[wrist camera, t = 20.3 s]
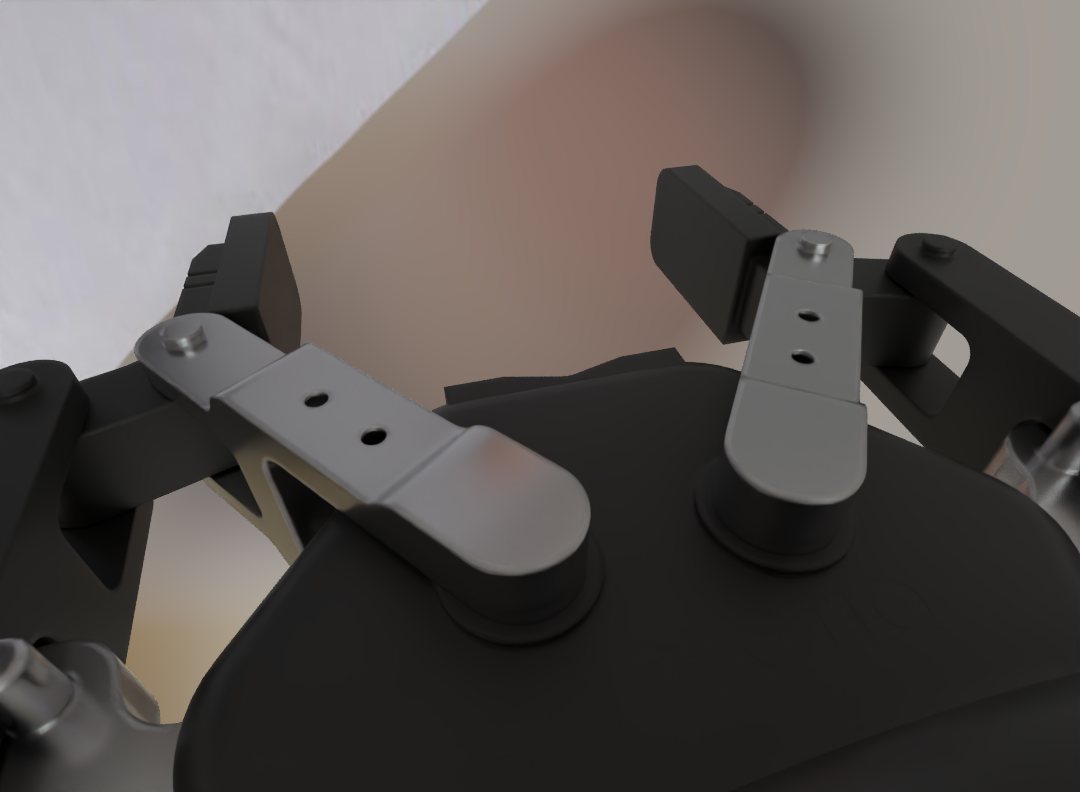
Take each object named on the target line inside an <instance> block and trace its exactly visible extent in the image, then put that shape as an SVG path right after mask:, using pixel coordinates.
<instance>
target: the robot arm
mask: <svg viewBox="0 0 1080 792" xmlns="http://www.w3.org/2000/svg"><path fill="white" fill-rule="evenodd" d="M650 242H651V243H650V244H651V252H652V256H653V259H654V262H655V263H656V265H657V266H658V267H659V268H660V270H661V271H662V272H663V273H664V275H665V276H666V277H667V278H668V279H669V280H670V282H671V283H672V284H673V285H674V286H675V288H676V289H677V290H678V291H679V292H680V294H681V295H682V296H683V297H684V298H685V300H686V301H687V302H688V303H689V304H690V306H691V307H692V308H693V309H694V310H695V312H696V313H697V314H698V315H699V316H700V318H701V319H702V320H703V321H704V322H705V324H706V325H707V326H708V327H709V328H710V329H711V330H712V332H713V333H714V334H715V335H716V336H717V338H718V339H719V340H720V341H721V342H722V344H729V343H735V342H741V341H747V340H749V344H748V348H747V351H746V355H745V359H744V363H743V367H742V371H737V370H734V369H731V368H727V367H722V366H719V365H713V364H706V363H696V362H685V361H684V360H683V358H682V357H681V356H680V354H679V353H678V352H677V350H676V349H675V347H674V348H668V349H662V350H657V351H651V352H645V353H639V354H633V355H628V356H622V357H619V358H616V359H614V360H611V361H608V362H606V363H603V364H600V365H598V366H595V367H593V368H590V369H587V370H584V371H582V372H579V373H577V374H574V375H570V376H562V377H501V378H495V379H489V380H483V381H478V382H472V383H466V384H460V385H454V386H448V387H444V391H445V398H446V405H443V406H441V407H438V408H436V409H434V410H432V411H430V410H428V409H427V408H425V407H423V406H421V405H419V404H418V403H416V402H414V401H413V400H410V399H409V398H407V397H406V396H404V395H402V394H400V393H399V392H397V391H395V390H393V389H392V388H390V387H388V386H387V385H385V384H383V383H381V382H379V381H378V380H376V379H374V378H372V377H371V376H369V375H367V374H366V373H364V372H362V371H360V370H359V369H357V368H355V367H353V366H352V365H350V364H348V363H346V362H345V361H343V360H341V359H339V358H338V357H336V356H334V355H332V354H331V353H329V352H327V351H326V350H324V349H322V348H320V347H319V346H317V345H314V344H311V343H306V344H304V345H302V346H300V338H301V314H302V313H301V304H300V298H299V293H298V289H297V285H296V281H295V279H294V275H293V272H292V268H291V265H290V262H289V258H288V255H287V252H286V248H285V245H284V242H283V239H282V235H281V232H280V228H279V225H278V222H277V220H276V217H275V215H274V214H273V212H267V213H258V214H249V215H240V216H232V217H231V220H230V224H229V227H228V231H227V235H226V239H225V243H222V244H213V245H208V246H207V247H206V248H204V249H203V250H202V251H201V252H200V253H199V254H198V255H197V256H196V257H194V258H193V259H192V262H191V265H190V268H189V271H188V277H186V280H185V283H184V289H182V293H181V296H180V299H179V302H178V305H177V308H176V311H175V314H174V317H173V318H171V319H169V320H166V321H164V322H161V323H159V324H157V325H155V326H154V327H152V328H151V329H149V330H148V331H146V332H145V333H144V334H143V335H142V336H141V337H140V338H139V339H138V341H137V342H136V344H135V347H134V353H135V355H136V357H137V359H138V361H136V362H134V363H131V364H129V365H127V366H124V367H121V368H119V369H116V370H113V371H110V372H106V373H103V374H100V375H97V376H94V377H91V378H88V379H85V380H82V381H78V379H77V378H76V376H75V375H74V373H73V372H72V370H71V368H70V367H69V366H68V365H67V364H65V363H63V362H60V361H55V360H35V361H28V362H23V363H18V364H15V365H12V366H8V367H6V368H3V369H0V792H1080V317H1079V316H1078V315H1076V314H1075V313H1073V312H1071V311H1070V310H1068V309H1067V308H1065V307H1064V306H1062V305H1060V304H1059V303H1057V302H1056V301H1054V300H1053V299H1051V298H1050V297H1048V296H1046V295H1045V294H1043V293H1042V292H1040V291H1039V290H1037V289H1036V288H1034V287H1032V286H1031V285H1029V284H1027V283H1026V282H1024V281H1023V280H1022V279H1020V278H1018V277H1017V276H1015V275H1014V274H1012V273H1011V272H1009V271H1008V270H1006V269H1004V268H1003V267H1001V266H1000V265H998V264H997V263H995V262H994V261H992V260H990V259H989V258H987V257H986V256H984V255H983V254H981V253H979V252H978V251H976V250H975V249H973V248H972V247H970V246H968V245H967V244H965V243H963V242H960V241H958V240H955V239H953V238H949V237H947V236H943V235H937V234H927V233H914V234H907V235H904V236H901V237H899V238H898V240H897V241H896V244H895V246H894V249H893V251H892V253H891V256H890V258H889V259H863V258H854V250H853V248H852V246H851V245H850V244H849V243H848V242H846V241H845V240H843V239H842V238H840V237H837V236H835V235H832V234H830V233H825V232H821V231H816V230H805V229H803V230H791V231H788V230H787V229H786V228H785V227H783V226H782V225H781V224H779V223H778V222H777V221H776V220H774V219H773V218H772V217H771V216H769V215H768V214H767V213H765V214H764V211H763V210H762V209H760V208H759V207H758V206H756V205H753V202H751V201H750V200H749V199H748V198H746V197H745V196H744V195H742V194H741V193H740V192H737V191H735V190H732V189H730V188H727V187H725V186H723V185H722V184H721V183H719V182H718V181H717V180H716V179H714V178H713V177H712V176H711V175H709V174H708V173H707V172H706V171H704V170H703V169H702V168H701V167H699V166H698V165H692V166H684V167H675V168H666V169H663V170H662V171H661V172H660V174H659V177H658V180H657V187H656V196H655V204H654V212H653V221H652V230H651V239H650ZM947 323H948V324H950V325H951V326H952V327H954V328H955V329H956V330H957V331H958V332H960V333H961V334H962V335H963V336H964V337H965V338H966V340H967V341H968V343H969V347H970V360H969V363H968V365H967V367H966V368H965V370H964V372H963V374H962V375H961V377H960V378H959V377H958V376H957V375H956V374H955V373H953V372H952V371H951V370H950V369H949V368H948V367H947V366H946V365H944V364H943V363H942V362H941V361H940V360H939V359H938V358H936V357H935V356H934V355H933V354H932V353H933V351H934V349H935V347H936V345H937V343H938V341H939V339H940V337H941V335H942V333H943V331H944V329H945V328H946V325H947ZM860 380H861V381H862V382H863V383H864V384H865V385H866V386H867V387H868V388H869V389H870V390H871V391H872V392H873V393H874V394H875V395H876V396H877V397H878V399H879V400H880V401H881V402H882V403H883V404H884V405H885V406H886V407H887V408H888V409H889V410H890V411H891V412H892V413H893V414H894V416H895V417H896V418H897V419H898V420H899V421H900V422H901V423H902V424H903V425H904V426H905V427H906V428H907V429H908V430H909V431H910V432H911V434H912V435H913V436H914V437H915V438H916V439H917V440H918V441H919V442H920V443H921V444H922V445H923V446H924V447H925V448H924V447H921V446H919V445H917V444H914V443H912V442H909V441H907V440H905V439H902V438H900V437H897V436H895V435H892V434H890V433H888V432H885V431H883V430H880V429H878V428H876V427H873V426H871V425H868V424H867V407H866V405H865V404H862V403H860ZM202 479H203V481H204V482H205V483H206V485H207V486H208V487H210V488H211V489H212V490H213V491H214V492H215V493H217V494H218V495H219V496H220V497H222V499H224V500H225V501H226V502H227V503H228V504H229V505H231V506H232V507H233V508H234V509H235V510H236V511H238V512H239V513H240V514H241V515H242V516H243V517H245V518H246V519H247V520H248V521H249V522H251V523H252V524H253V525H254V526H255V527H256V528H258V529H259V530H260V531H261V532H262V533H263V534H264V535H266V536H267V537H268V538H269V539H270V541H271V542H272V543H273V544H274V545H275V546H276V548H277V549H278V550H279V552H280V553H281V554H282V556H283V557H284V559H285V560H286V562H287V563H288V564H289V565H290V567H289V569H288V570H287V571H286V572H285V574H284V575H283V576H282V577H281V579H280V580H279V581H278V582H277V584H276V585H275V586H274V587H273V589H272V590H271V591H270V593H269V594H268V595H267V597H266V598H265V599H264V600H263V601H262V603H261V604H260V605H259V606H258V608H257V609H256V610H255V611H254V613H253V614H252V615H251V616H250V618H249V619H248V620H247V622H246V623H245V624H244V625H243V627H242V628H241V629H240V630H239V632H238V633H237V634H236V635H235V637H234V638H233V639H232V640H231V642H230V643H229V644H228V646H227V647H226V648H225V649H224V651H223V652H222V653H221V654H220V655H219V657H218V658H217V659H216V661H215V662H214V664H213V665H212V667H211V668H210V669H209V670H208V672H207V673H206V674H205V676H204V677H203V679H202V681H201V683H200V684H199V686H198V688H197V690H196V691H195V693H194V695H193V697H192V699H191V702H190V704H189V706H188V709H187V711H186V714H185V717H184V719H183V722H180V723H175V724H160V710H159V706H158V702H157V701H156V699H155V697H154V695H153V694H152V693H151V692H150V691H149V690H148V689H147V688H146V687H145V686H144V685H143V684H142V683H141V682H140V681H139V680H138V678H137V677H136V676H135V675H134V674H133V673H132V672H131V671H130V670H129V669H128V668H127V667H126V666H125V663H126V657H127V651H128V646H129V640H130V635H131V629H132V623H133V618H134V611H135V606H136V601H137V595H138V589H139V584H140V578H141V572H142V567H143V561H144V555H145V550H146V544H147V539H148V533H149V527H150V522H151V516H152V510H153V500H154V499H157V498H159V497H161V496H164V495H166V494H169V493H171V492H173V491H176V490H178V489H181V488H183V487H185V486H188V485H190V484H193V483H195V482H198V481H200V480H202Z"/></svg>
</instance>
